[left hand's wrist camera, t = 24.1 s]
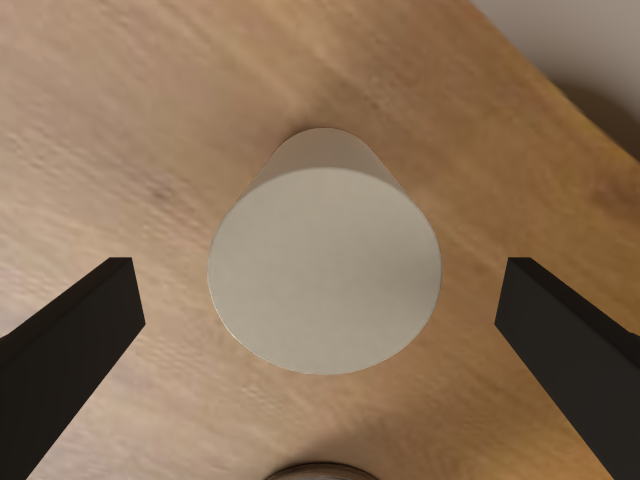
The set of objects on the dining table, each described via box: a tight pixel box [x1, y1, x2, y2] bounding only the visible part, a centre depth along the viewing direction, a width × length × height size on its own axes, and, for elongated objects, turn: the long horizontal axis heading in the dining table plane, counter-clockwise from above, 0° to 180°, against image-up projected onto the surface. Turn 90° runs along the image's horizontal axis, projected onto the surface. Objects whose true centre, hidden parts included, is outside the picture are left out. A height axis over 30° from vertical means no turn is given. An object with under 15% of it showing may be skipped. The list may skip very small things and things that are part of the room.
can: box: [207, 128, 442, 375], centre depth 18 cm, size 8×8×13 cm
